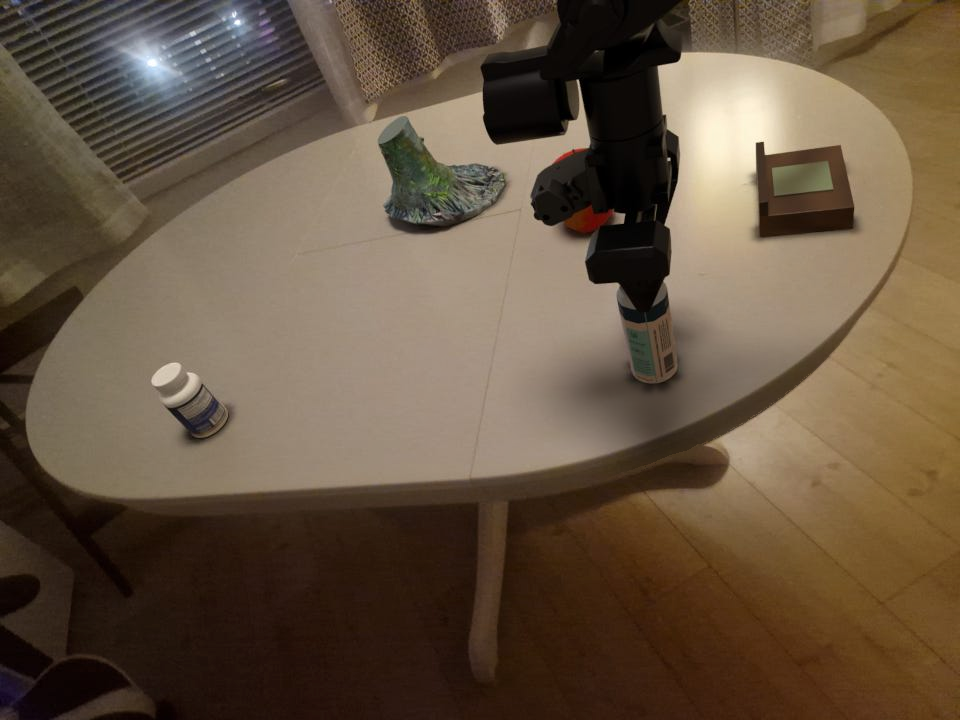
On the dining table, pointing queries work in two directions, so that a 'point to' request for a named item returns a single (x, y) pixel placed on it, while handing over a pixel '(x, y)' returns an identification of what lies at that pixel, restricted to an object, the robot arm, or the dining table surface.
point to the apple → (585, 212)
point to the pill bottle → (189, 400)
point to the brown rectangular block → (803, 191)
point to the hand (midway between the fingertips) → (648, 278)
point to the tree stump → (433, 181)
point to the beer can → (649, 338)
